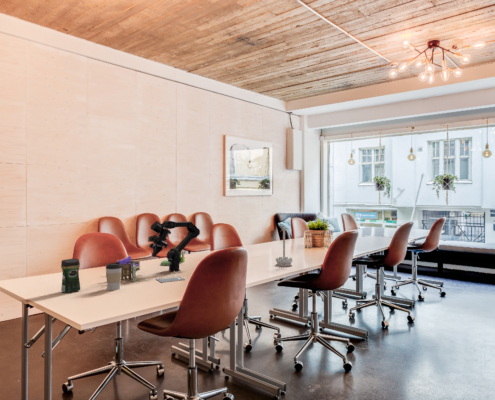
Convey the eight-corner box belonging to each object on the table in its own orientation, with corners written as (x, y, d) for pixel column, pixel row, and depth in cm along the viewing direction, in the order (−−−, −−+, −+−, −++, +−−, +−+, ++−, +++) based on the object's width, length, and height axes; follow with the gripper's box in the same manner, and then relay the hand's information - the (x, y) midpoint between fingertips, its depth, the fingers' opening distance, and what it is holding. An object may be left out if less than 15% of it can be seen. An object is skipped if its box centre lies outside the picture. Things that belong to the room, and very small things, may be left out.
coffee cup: (112, 291, 220) (112, 265, 220) (102, 289, 225) (102, 263, 224) (125, 288, 228) (125, 262, 227) (115, 286, 232) (114, 261, 232)
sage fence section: (131, 277, 255) (131, 262, 255) (135, 277, 255) (135, 262, 255) (132, 281, 243) (132, 266, 243) (135, 281, 244) (135, 266, 244)
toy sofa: (127, 275, 263) (127, 260, 263) (115, 275, 264) (115, 260, 264) (140, 269, 284) (140, 255, 283) (129, 269, 285) (129, 255, 285)
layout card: (179, 276, 259) (179, 276, 259) (184, 279, 250) (184, 279, 250) (155, 279, 251) (155, 278, 251) (160, 282, 242) (160, 282, 242)
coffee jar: (76, 288, 226) (76, 257, 226) (81, 291, 220) (81, 258, 220) (59, 291, 219) (59, 259, 219) (64, 294, 214) (64, 260, 213)
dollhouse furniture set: (159, 266, 298) (159, 251, 297) (170, 259, 326) (170, 246, 326) (177, 266, 296) (177, 252, 296) (187, 260, 325) (187, 247, 325)
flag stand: (293, 266, 297) (293, 227, 296) (276, 266, 297) (276, 227, 296) (291, 263, 310) (291, 226, 309) (275, 263, 310) (275, 226, 309)
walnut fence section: (130, 278, 254) (130, 263, 254) (131, 278, 253) (131, 263, 253) (112, 280, 248) (112, 264, 248) (113, 280, 247) (113, 265, 247)
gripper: (147, 233, 275) (137, 252, 268) (158, 229, 261) (148, 250, 254) (160, 240, 280) (151, 259, 273) (171, 236, 266) (162, 257, 259)
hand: (153, 256), depth 264 cm, fingers closed
